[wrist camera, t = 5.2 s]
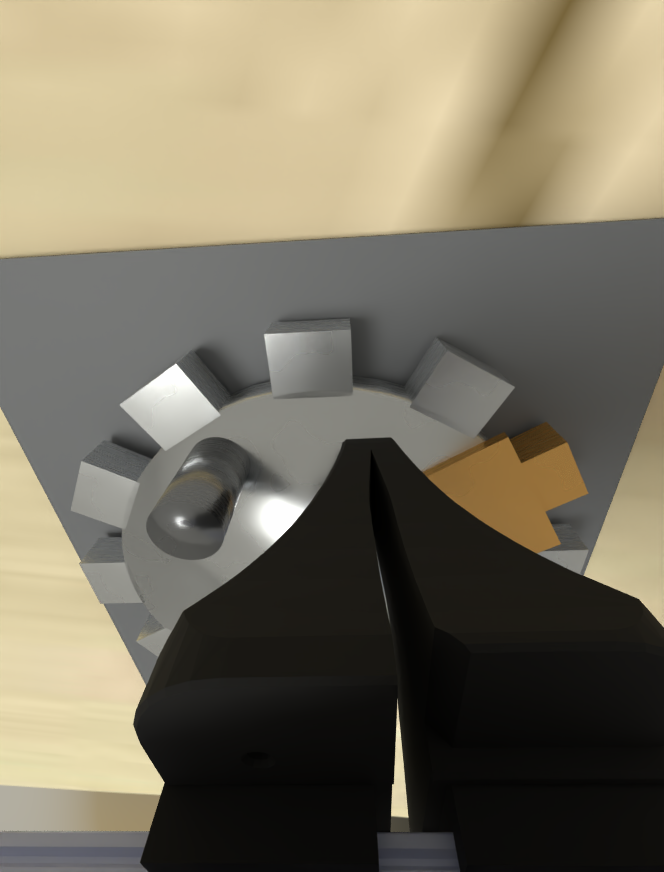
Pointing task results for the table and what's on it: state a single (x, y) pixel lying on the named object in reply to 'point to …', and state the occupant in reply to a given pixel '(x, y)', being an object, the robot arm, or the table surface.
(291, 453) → the sprocket
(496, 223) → the table surface
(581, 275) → the plate
